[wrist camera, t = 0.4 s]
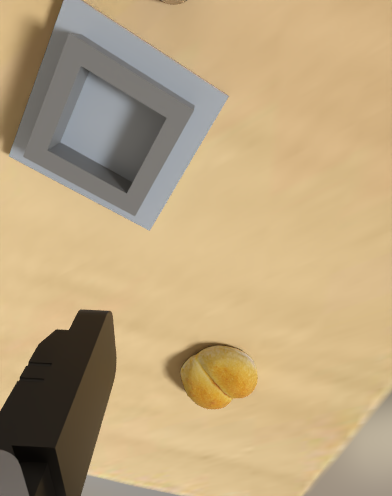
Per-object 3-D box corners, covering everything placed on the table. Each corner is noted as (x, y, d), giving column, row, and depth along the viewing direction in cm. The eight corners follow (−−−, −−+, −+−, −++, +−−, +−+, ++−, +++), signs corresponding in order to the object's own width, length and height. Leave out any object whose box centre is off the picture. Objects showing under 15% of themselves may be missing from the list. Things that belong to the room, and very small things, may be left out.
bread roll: (267, 373, 46) (272, 400, 43) (207, 401, 49) (207, 428, 45) (232, 329, 43) (234, 354, 40) (169, 361, 46) (166, 387, 42)
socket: (71, -7, 28) (51, -16, 25) (228, 95, 31) (230, 100, 28) (13, 153, 34) (-9, 165, 30) (151, 226, 37) (145, 244, 33)
